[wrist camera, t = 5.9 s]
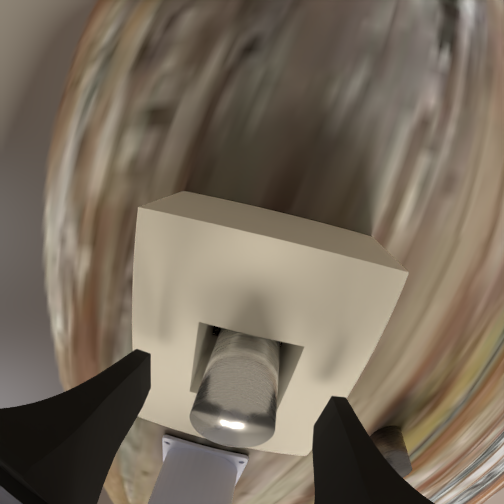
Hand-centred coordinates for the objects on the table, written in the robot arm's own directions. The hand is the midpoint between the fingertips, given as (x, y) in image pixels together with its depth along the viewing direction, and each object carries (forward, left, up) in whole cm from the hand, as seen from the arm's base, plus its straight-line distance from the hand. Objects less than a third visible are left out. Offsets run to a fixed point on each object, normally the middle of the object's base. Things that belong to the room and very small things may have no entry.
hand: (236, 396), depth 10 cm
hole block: (0, 0, -6) cm, 6 cm away
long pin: (0, 0, -6) cm, 6 cm away
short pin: (-10, -14, -6) cm, 18 cm away
